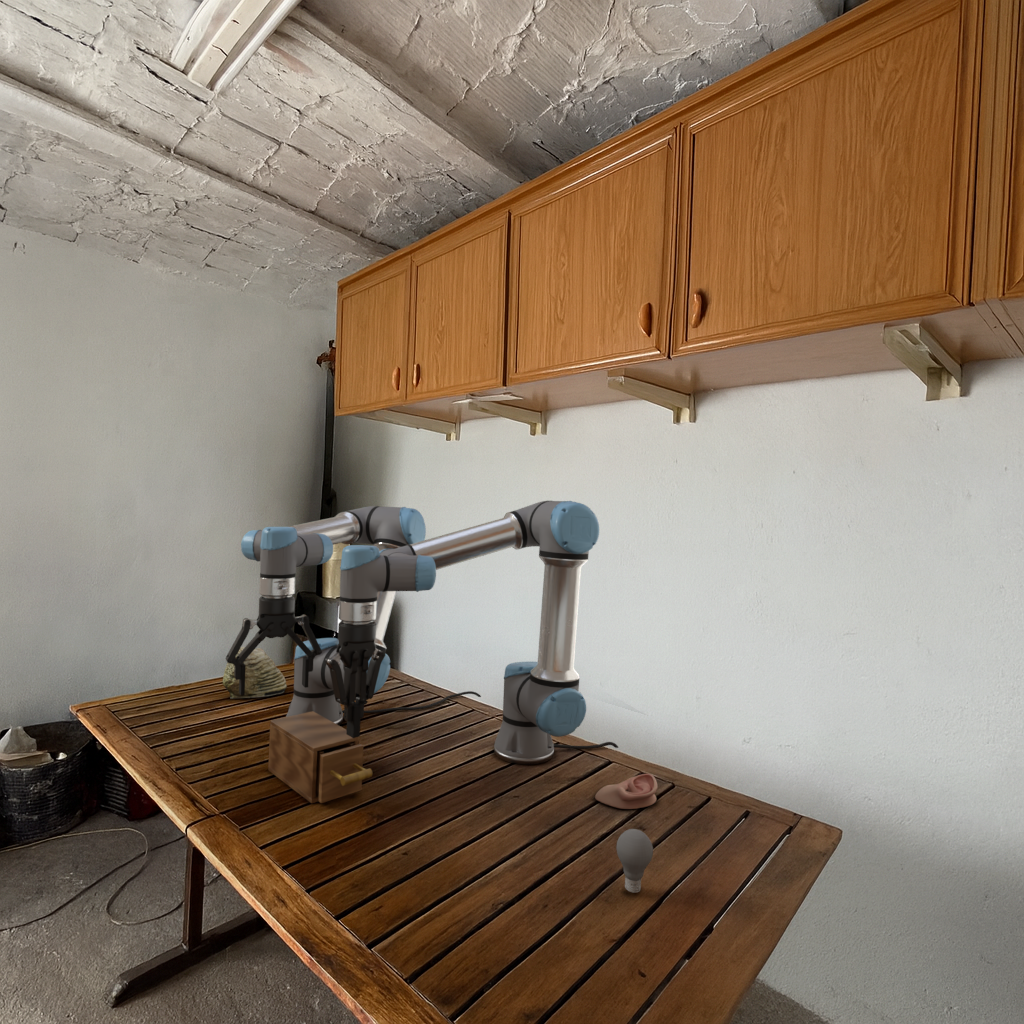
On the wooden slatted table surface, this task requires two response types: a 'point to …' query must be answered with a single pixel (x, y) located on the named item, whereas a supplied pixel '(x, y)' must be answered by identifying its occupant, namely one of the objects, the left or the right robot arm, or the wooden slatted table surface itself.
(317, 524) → the left robot arm
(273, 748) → the cabinet
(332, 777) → the drawer
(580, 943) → the wooden slatted table surface
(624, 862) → the light bulb
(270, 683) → the fossil
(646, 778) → the anatomical model
